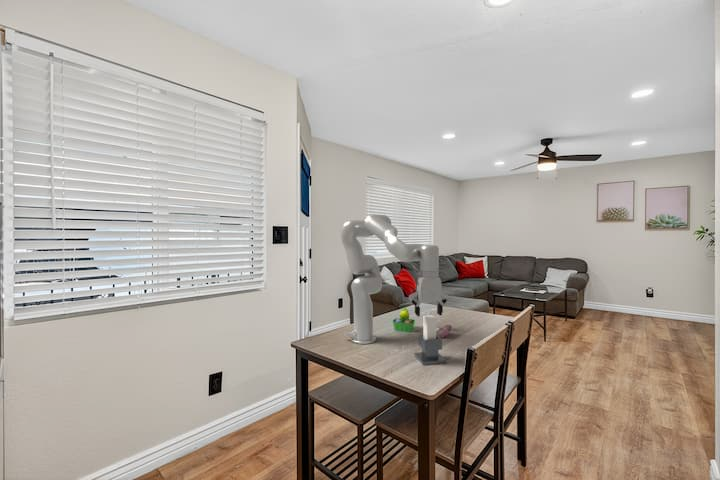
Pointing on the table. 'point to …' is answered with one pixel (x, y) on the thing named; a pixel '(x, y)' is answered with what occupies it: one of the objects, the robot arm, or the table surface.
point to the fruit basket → (403, 321)
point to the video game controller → (444, 331)
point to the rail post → (429, 327)
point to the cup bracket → (430, 351)
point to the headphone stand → (430, 314)
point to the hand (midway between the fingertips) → (428, 315)
